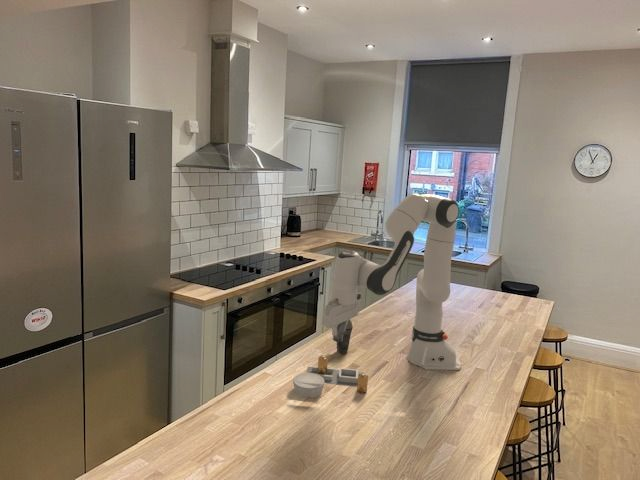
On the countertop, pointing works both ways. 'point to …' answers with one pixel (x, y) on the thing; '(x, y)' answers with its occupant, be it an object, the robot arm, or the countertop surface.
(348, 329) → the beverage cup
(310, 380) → the ramekin
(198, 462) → the countertop surface
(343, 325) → the cylinder
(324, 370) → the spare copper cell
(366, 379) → the copper cell
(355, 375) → the gray slab
